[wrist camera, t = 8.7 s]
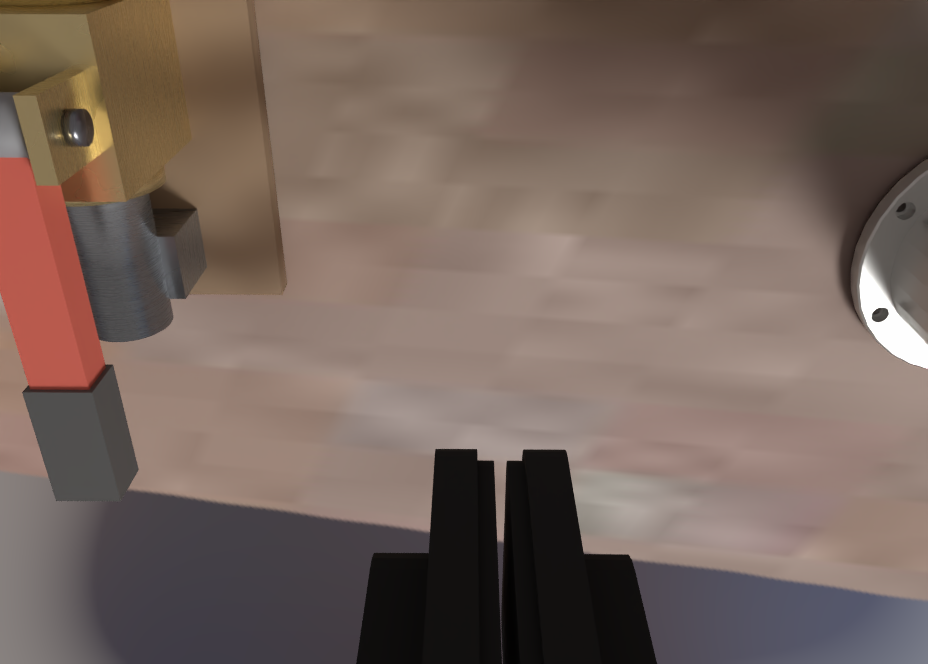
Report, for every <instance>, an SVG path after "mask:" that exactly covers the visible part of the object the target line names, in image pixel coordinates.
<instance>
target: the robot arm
mask: <svg viewBox="0 0 928 664" xmlns="http://www.w3.org/2000/svg"><path fill="white" fill-rule="evenodd" d="M900 205H901V206H900ZM899 206H900V207H899ZM898 207H899V208H898ZM851 293H852V298H853V302H854V306H855V310H856V312H857V314H858V316H859V318H860V320H861V322H862V324H863V326H864V327H865V328H866V329H867V330H868V332H869V333H870V334H871V335H872V337H873V338H874V339H875V340H876V342H878V343H879V344H880V345H881V346H882V347H883V348H884V349H886V350H887V351H888V352H889V353H890V354H891V355H893V356H895V357H897V358H899V359H901V360H903V361H905V362H907V363H908V364H912V365H915V366H919V367H922V368H926V369H928V159H926V160H925V161H923V162H921V163H920V164H919V165H918V166H916V167H915V168H914V169H913V170H912V171H910V172H909V173H908V174H907V175H906V176H904V177H903V178H902V179H901V180H899V181H898V182H897V184H896V185H895V186H894V187H893V188H892V189H891V190H890V191H889V192H888V194H887V195H886V196H885V197H884V198H883V199H882V200H881V201H880V203H879V204H878V206H877V207H876V209H875V210H874V212H873V213H872V215H871V217H870V218H869V220H868V221H867V223H866V224H865V227H864V229H863V231H862V234H861V236H860V238H859V241H858V243H857V245H856V248H855V253H854V257H853V262H852V266H851ZM502 651H503V664H657V662H656V658H655V654H654V649H653V645H652V641H651V637H650V632H649V628H648V624H647V620H646V615H645V611H644V607H643V603H642V599H641V594H640V590H639V586H638V582H637V577H636V573H635V569H634V566H633V562H632V559H631V558H630V556H629V555H614V554H584V553H583V547H582V541H581V535H580V529H579V523H578V517H577V511H576V505H575V499H574V493H573V487H572V481H571V475H570V469H569V462H568V457H567V452H566V450H523V455H522V461H507V466H506V494H505V523H504V552H503V581H502ZM356 664H502V656H501V630H500V607H499V579H498V553H497V528H496V502H495V477H494V461H477V449H436V450H435V463H434V479H433V495H432V511H431V527H430V543H429V553H374V554H373V557H372V561H371V567H370V574H369V580H368V587H367V594H366V601H365V608H364V615H363V621H362V628H361V635H360V643H359V649H358V656H357V663H356Z"/></svg>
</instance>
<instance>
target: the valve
mask: <svg viewBox="0 0 928 664" xmlns="http://www.w3.org/2000/svg"><path fill="white" fill-rule="evenodd" d="M0 92H19V93H17V94H15V95H13V99H14V103H15V106H16V110H17V114H18V118H19V121H20V125H21V129H22V132H23V136H24V140H25V144H26V147H27V151H28V155H29V159H30V162H31V166H32V170H33V173H34V177H35V181H36V185H37V186H59V185H61V189H62V193H63V197H64V201H65V205H66V209H67V213H68V217H69V221H70V225H71V229H72V233H73V237H74V241H75V245H76V249H77V253H78V257H79V261H80V265H81V269H82V273H83V277H84V281H85V286H86V290H87V294H88V298H89V302H90V306H91V310H92V314H93V318H94V322H95V326H96V330H97V334H98V338H99V340H102V341H108V342H127V341H134V340H139V339H143V338H146V337H149V336H152V335H154V334H156V333H158V332H160V331H162V330H164V329H165V328H166V327H167V326H169V325H170V323H171V322H172V320H173V312H172V307H171V302H170V299H186V298H187V296H188V295H189V293H190V292H191V290H192V289H193V287H194V286H195V284H196V283H197V281H198V280H199V278H200V277H201V275H202V274H203V272H204V271H205V269H206V268H207V263H206V257H205V251H204V245H203V239H202V233H201V228H200V222H199V216H198V210H197V209H177V208H152V206H151V201H150V196H149V193H150V192H152V191H154V190H156V189H158V188H159V187H160V186H162V185H163V184H164V182H165V181H166V174H165V168H164V165H165V164H167V163H168V162H169V161H170V160H171V159H172V158H173V157H174V156H175V155H176V154H177V153H178V152H179V151H180V150H181V149H182V148H183V147H184V146H185V145H186V144H188V143H189V142H190V141H191V140H192V135H191V129H190V123H189V117H188V111H187V105H186V99H185V93H184V87H183V81H182V75H181V69H180V63H179V57H178V51H177V45H176V39H175V33H174V27H173V21H172V14H171V8H170V2H169V0H0Z"/></svg>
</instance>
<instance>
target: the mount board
mask: <svg viewBox="0 0 928 664" xmlns="http://www.w3.org/2000/svg"><path fill="white" fill-rule="evenodd" d="M169 2H170V8H171V14H172V21H173V27H174V33H175V39H176V45H177V51H178V57H179V63H180V69H181V75H182V81H183V87H184V93H185V99H186V105H187V111H188V117H189V123H190V129H191V135H192V140H191V141H190V142H189V143H188V144H186V145H185V146H184V147H183V148H182V149H181V150H180V151H179V152H178V153H177V154H176V155H175V156H174V157H173V158H172V159H171V160H170V161H169V162H168V163H167V164H165V165H164V168H165V174H166V181H165V182H164V184H163V185H162V186H160V187H159V188H158V189H156V190H154V191H152V192H150V193H149V196H150V201H151V206H152V208H177V209H197V210H198V216H199V222H200V228H201V233H202V239H203V245H204V251H205V257H206V263H207V268H206V269H205V271H204V272H203V274H202V275H201V277H200V278H199V280H198V281H197V283H196V284H195V286H194V287H193V289H192V290H191V292H190V293H189V294H253V295H282V294H283V292H284V290H285V287H286V285H287V279H286V271H285V263H284V254H283V246H282V237H281V229H280V220H279V212H278V203H277V195H276V186H275V178H274V169H273V161H272V152H271V144H270V135H269V127H268V118H267V110H266V101H265V93H264V84H263V76H262V67H261V59H260V50H259V42H258V33H257V25H256V16H255V8H254V0H169Z"/></svg>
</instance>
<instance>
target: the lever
mask: <svg viewBox="0 0 928 664" xmlns="http://www.w3.org/2000/svg"><path fill="white" fill-rule="evenodd" d="M17 93H19V92H0V293H1V296H2V299H3V302H4V306H5V309H6V312H7V315H8V319H9V322H10V325H11V328H12V332H13V335H14V338H15V342H16V345H17V348H18V351H19V355H20V358H21V361H22V364H23V368H24V371H25V374H26V377H27V381H28V384H29V385H28V386H27V388H26V389H25V390H24V391H23V392H22V393H23V396H24V400H25V403H26V406H27V409H28V412H29V415H30V419H31V422H32V425H33V428H34V431H35V435H36V438H37V441H38V444H39V447H40V451H41V454H42V457H43V460H44V463H45V467H46V470H47V473H48V476H49V479H50V483H51V486H52V489H53V492H54V495H55V498H56V501H121V500H122V498H123V496H124V494H125V493H126V491H127V489H128V487H129V486H130V484H131V482H132V480H133V479H134V477H135V475H136V473H137V472H138V465H137V461H136V457H135V453H134V449H133V445H132V441H131V437H130V433H129V429H128V424H127V420H126V416H125V412H124V408H123V404H122V400H121V396H120V392H119V387H118V383H117V379H116V375H115V371H114V367H113V365H105V362H104V358H103V354H102V350H101V346H100V342H99V338H98V334H97V330H96V326H95V322H94V318H93V314H92V310H91V306H90V302H89V298H88V294H87V290H86V286H85V281H84V277H83V273H82V269H81V265H80V261H79V257H78V253H77V249H76V245H75V241H74V237H73V233H72V229H71V225H70V221H69V217H68V213H67V209H66V205H65V201H64V197H63V193H62V189H61V185H59V186H37V185H36V181H35V177H34V173H33V170H32V166H31V162H30V159H29V155H28V151H27V147H26V144H25V140H24V136H23V132H22V129H21V125H20V121H19V118H18V114H17V110H16V106H15V103H14V99H13V95H15V94H17Z"/></svg>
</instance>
